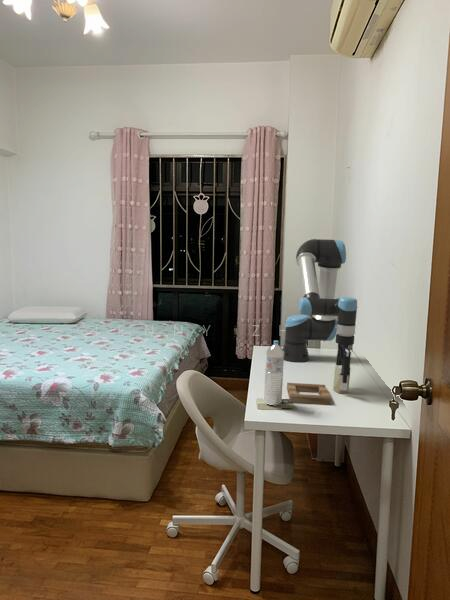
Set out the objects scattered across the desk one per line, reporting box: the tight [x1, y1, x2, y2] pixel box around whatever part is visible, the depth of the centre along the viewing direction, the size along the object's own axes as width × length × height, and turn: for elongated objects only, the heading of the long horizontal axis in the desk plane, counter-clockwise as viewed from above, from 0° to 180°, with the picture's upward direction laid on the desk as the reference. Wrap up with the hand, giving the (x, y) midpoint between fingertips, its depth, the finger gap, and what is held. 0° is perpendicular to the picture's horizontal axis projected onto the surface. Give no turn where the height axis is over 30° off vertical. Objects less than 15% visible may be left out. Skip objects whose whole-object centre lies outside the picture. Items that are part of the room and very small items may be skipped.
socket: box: [286, 382, 333, 406], centre depth 177 cm, size 16×16×2 cm
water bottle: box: [263, 340, 285, 407], centre depth 166 cm, size 7×7×25 cm
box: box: [332, 365, 351, 394], centre depth 183 cm, size 5×4×11 cm
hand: (341, 386), depth 184 cm, fingers open, 8 cm apart
